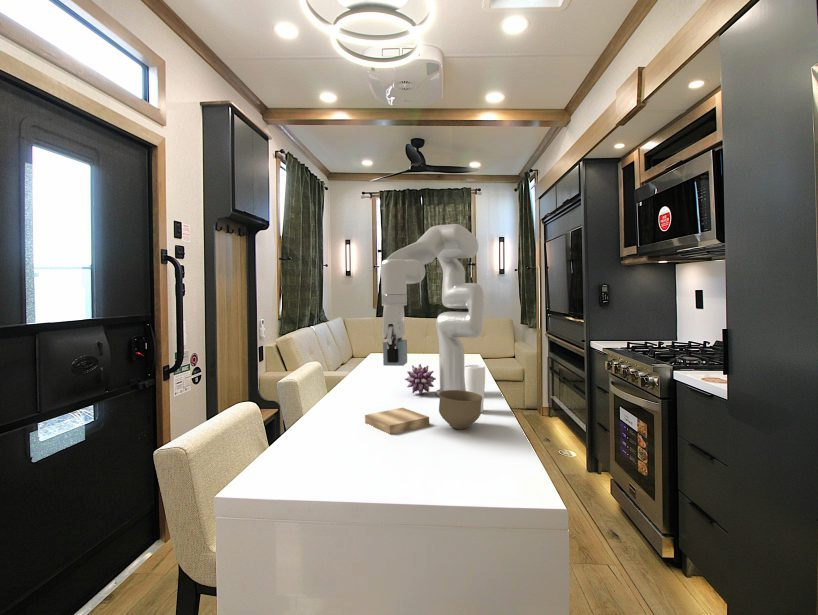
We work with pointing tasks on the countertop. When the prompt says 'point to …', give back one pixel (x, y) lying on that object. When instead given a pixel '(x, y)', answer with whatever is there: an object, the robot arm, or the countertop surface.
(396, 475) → the countertop surface
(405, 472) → the countertop surface
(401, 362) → the slate tea tin
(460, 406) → the bowl
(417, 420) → the block
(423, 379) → the purple spiky ball
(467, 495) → the countertop surface
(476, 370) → the drinking glass
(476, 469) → the countertop surface
